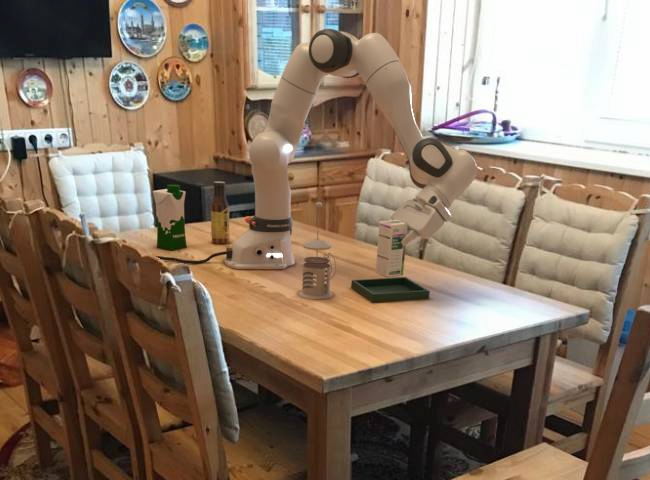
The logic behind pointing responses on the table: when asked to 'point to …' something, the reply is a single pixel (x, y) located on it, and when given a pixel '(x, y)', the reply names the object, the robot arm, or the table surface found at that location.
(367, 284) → the tray
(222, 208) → the sauce bottle
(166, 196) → the milk carton
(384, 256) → the syrup box
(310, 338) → the table surface
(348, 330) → the table surface
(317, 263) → the french press
